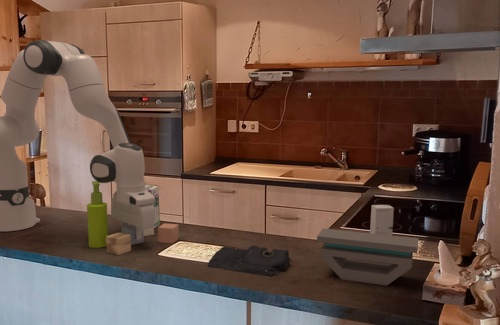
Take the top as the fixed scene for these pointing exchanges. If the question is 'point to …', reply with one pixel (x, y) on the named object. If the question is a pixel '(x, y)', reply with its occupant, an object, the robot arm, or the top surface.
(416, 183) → the top surface
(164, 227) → the terracotta cube
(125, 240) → the oak cube
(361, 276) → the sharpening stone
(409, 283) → the top surface
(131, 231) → the slate-blue cube
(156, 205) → the syrup box
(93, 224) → the soap dispenser
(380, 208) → the skincare box
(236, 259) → the crumpled black cloth
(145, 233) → the cream cube
